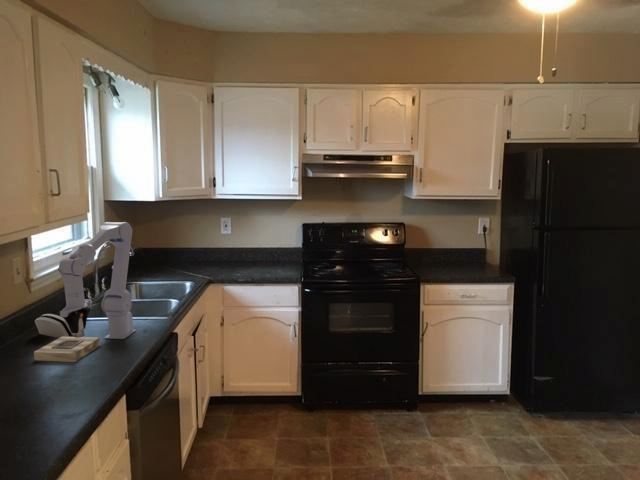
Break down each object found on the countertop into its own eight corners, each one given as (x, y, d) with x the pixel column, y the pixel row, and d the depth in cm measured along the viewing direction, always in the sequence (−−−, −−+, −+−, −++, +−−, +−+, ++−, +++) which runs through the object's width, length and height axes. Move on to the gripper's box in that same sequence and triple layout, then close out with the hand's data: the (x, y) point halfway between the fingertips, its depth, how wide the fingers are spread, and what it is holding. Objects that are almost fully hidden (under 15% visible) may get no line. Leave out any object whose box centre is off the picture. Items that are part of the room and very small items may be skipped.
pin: (78, 334, 174) (75, 311, 172) (88, 334, 173) (85, 311, 172) (71, 338, 170) (68, 315, 169) (81, 338, 169) (78, 315, 168)
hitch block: (63, 344, 184) (62, 335, 183) (100, 345, 182) (99, 336, 181) (34, 360, 169) (33, 351, 168) (75, 361, 167) (74, 352, 166)
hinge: (79, 335, 193) (69, 314, 188) (69, 343, 189) (58, 322, 185) (51, 329, 200) (40, 309, 196) (41, 337, 197) (30, 316, 192)
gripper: (72, 298, 162) (76, 338, 164) (97, 287, 176) (100, 324, 178) (52, 298, 162) (56, 338, 165) (78, 287, 177) (82, 323, 179)
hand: (78, 330), depth 171 cm, fingers closed on pin, 3 cm apart
